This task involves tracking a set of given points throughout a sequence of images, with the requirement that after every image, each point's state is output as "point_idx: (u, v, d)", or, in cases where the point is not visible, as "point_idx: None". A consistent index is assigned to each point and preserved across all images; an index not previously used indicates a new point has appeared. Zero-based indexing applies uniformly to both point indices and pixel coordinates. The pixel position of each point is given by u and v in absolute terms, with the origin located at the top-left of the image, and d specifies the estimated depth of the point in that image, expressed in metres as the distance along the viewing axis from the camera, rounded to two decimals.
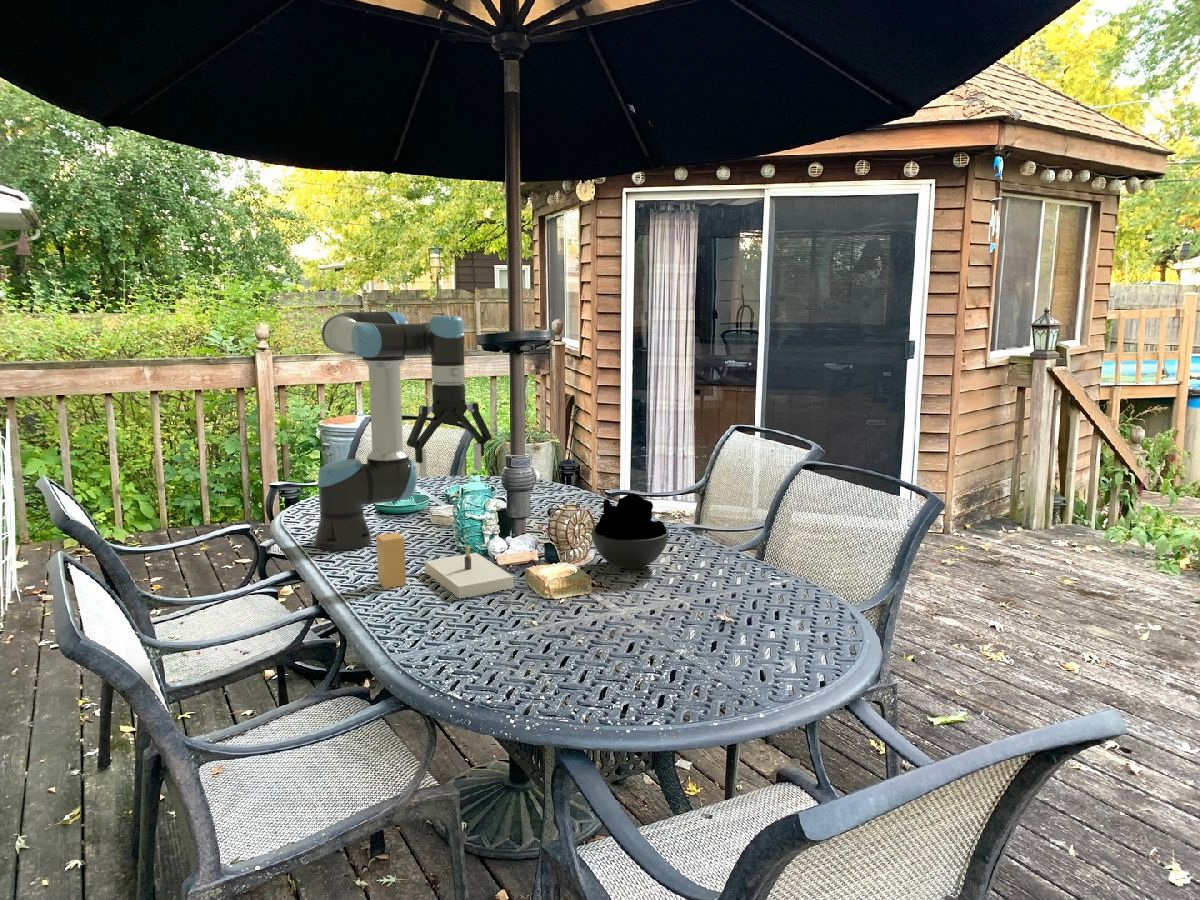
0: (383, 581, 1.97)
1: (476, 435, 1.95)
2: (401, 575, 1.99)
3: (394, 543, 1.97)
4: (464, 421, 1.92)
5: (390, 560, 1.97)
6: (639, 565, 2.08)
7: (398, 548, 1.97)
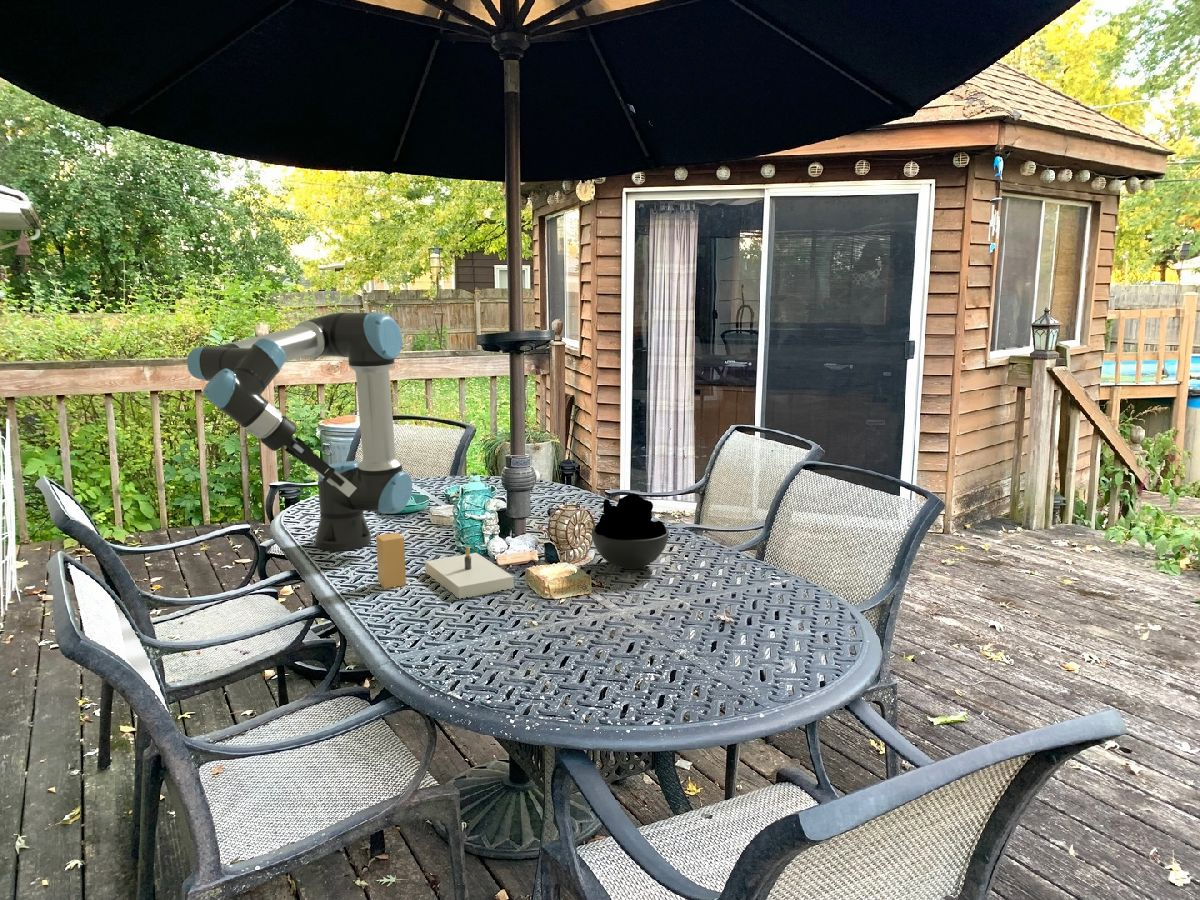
0: (383, 581, 1.97)
1: (318, 472, 1.81)
2: (401, 575, 1.99)
3: (394, 543, 1.97)
4: None
5: (390, 560, 1.97)
6: (639, 565, 2.08)
7: (398, 548, 1.97)
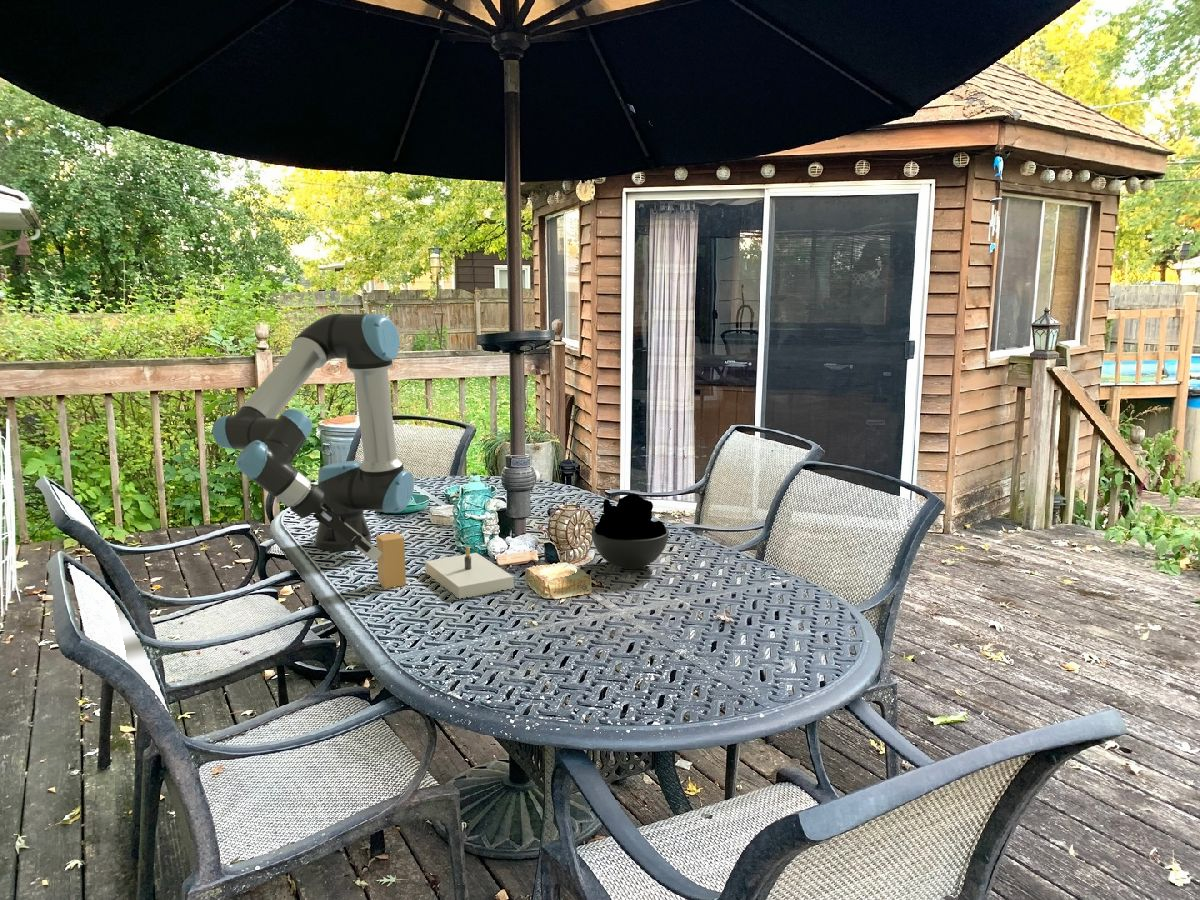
0: (383, 581, 1.97)
1: None
2: (401, 575, 1.99)
3: (394, 543, 1.97)
4: (328, 527, 1.87)
5: (390, 560, 1.97)
6: (639, 565, 2.08)
7: (398, 548, 1.97)
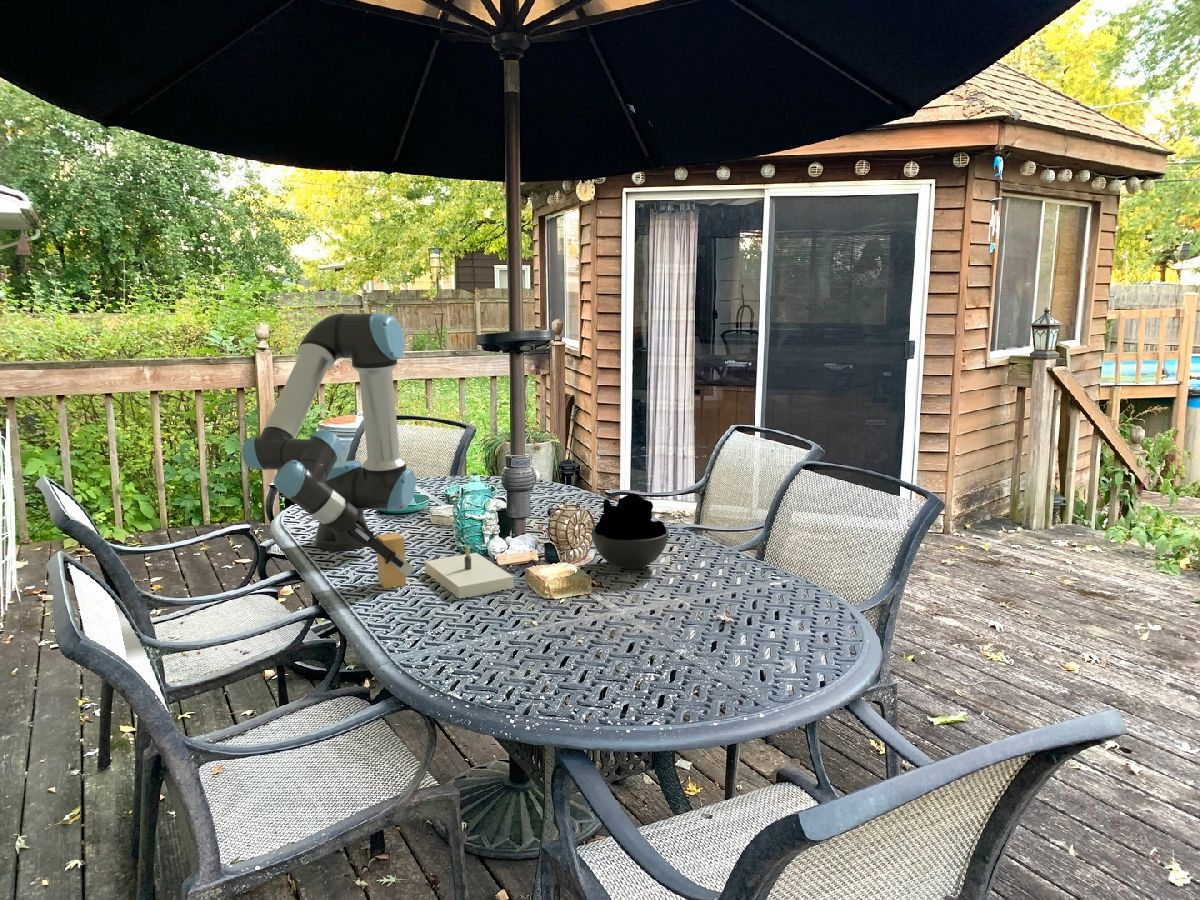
0: (383, 581, 1.97)
1: None
2: (401, 575, 1.99)
3: (394, 543, 1.97)
4: (362, 543, 1.93)
5: None
6: (639, 565, 2.08)
7: (398, 548, 1.97)
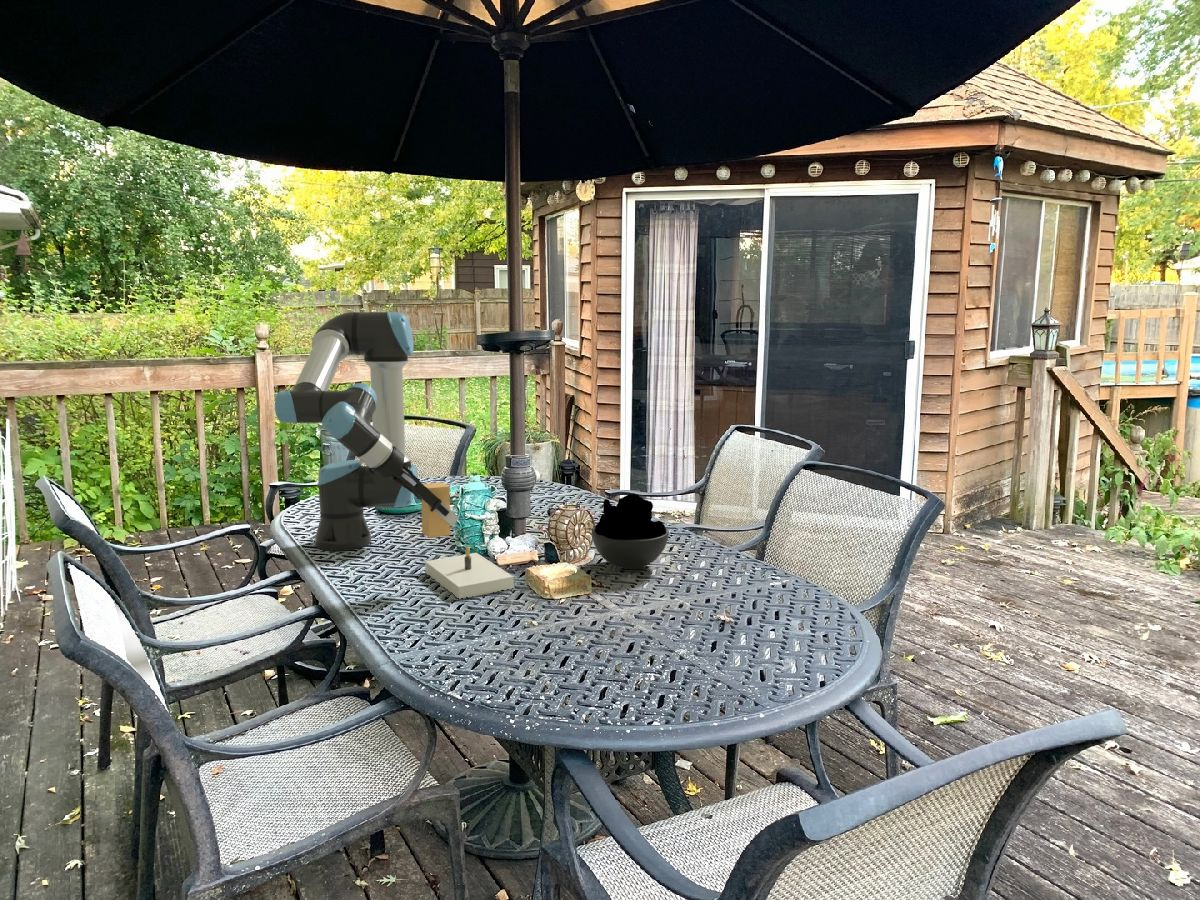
0: (428, 529, 1.95)
1: (425, 501, 1.92)
2: (445, 524, 1.97)
3: (440, 491, 1.94)
4: (408, 489, 1.91)
5: None
6: (639, 565, 2.08)
7: (443, 497, 1.95)
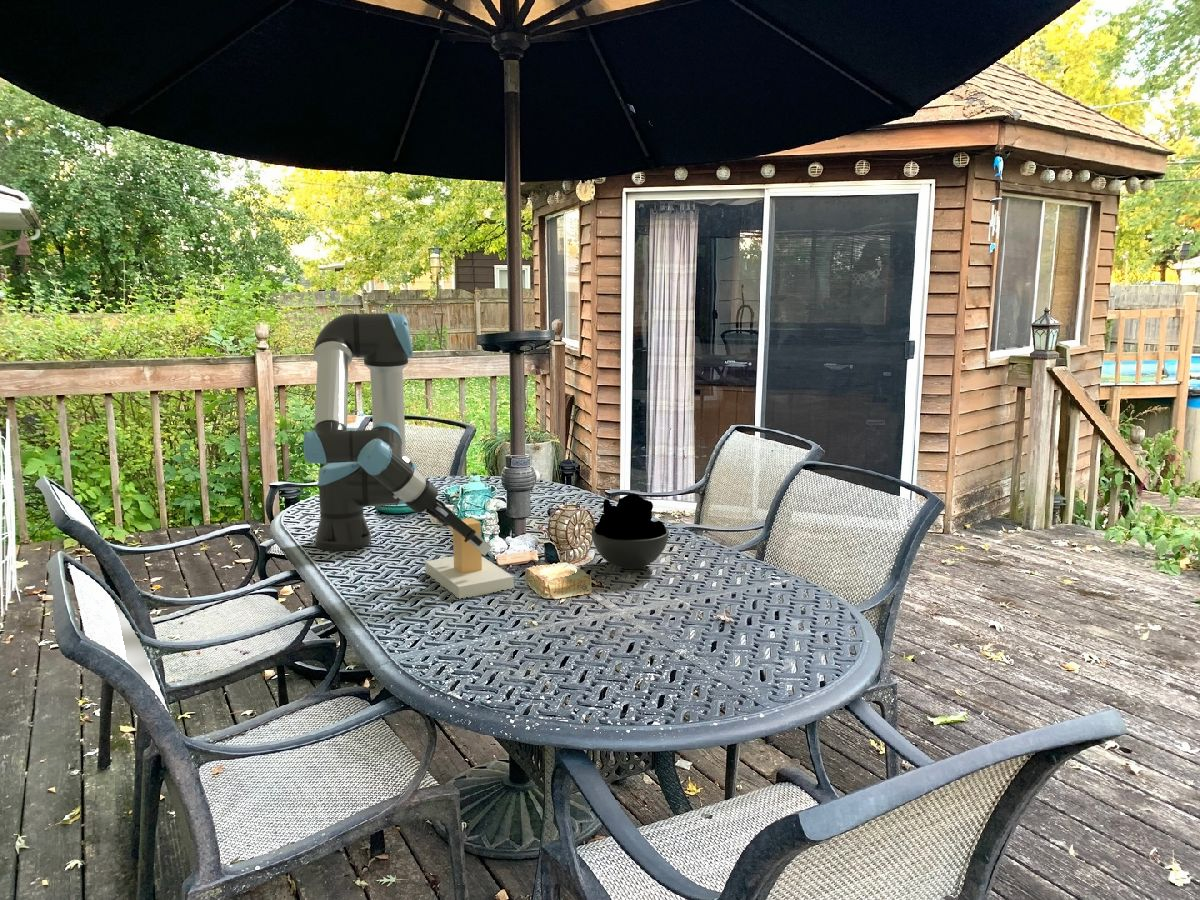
0: (461, 565, 2.00)
1: None
2: (477, 560, 2.01)
3: (472, 528, 1.99)
4: (441, 522, 1.95)
5: (467, 545, 1.99)
6: (639, 565, 2.08)
7: None
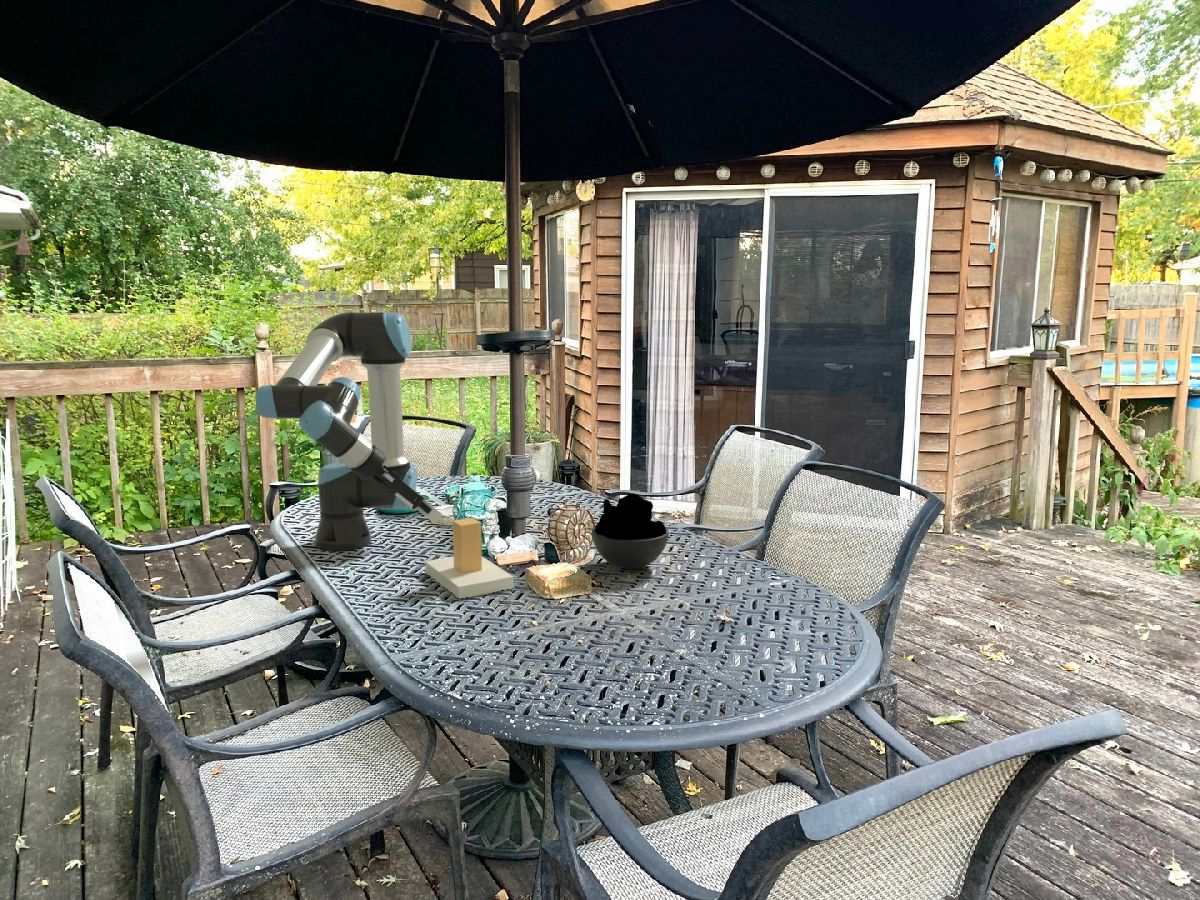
0: (461, 565, 2.00)
1: (407, 500, 1.85)
2: (477, 560, 2.01)
3: (472, 528, 1.99)
4: (389, 489, 1.86)
5: (467, 545, 1.99)
6: (639, 565, 2.08)
7: (475, 533, 2.00)
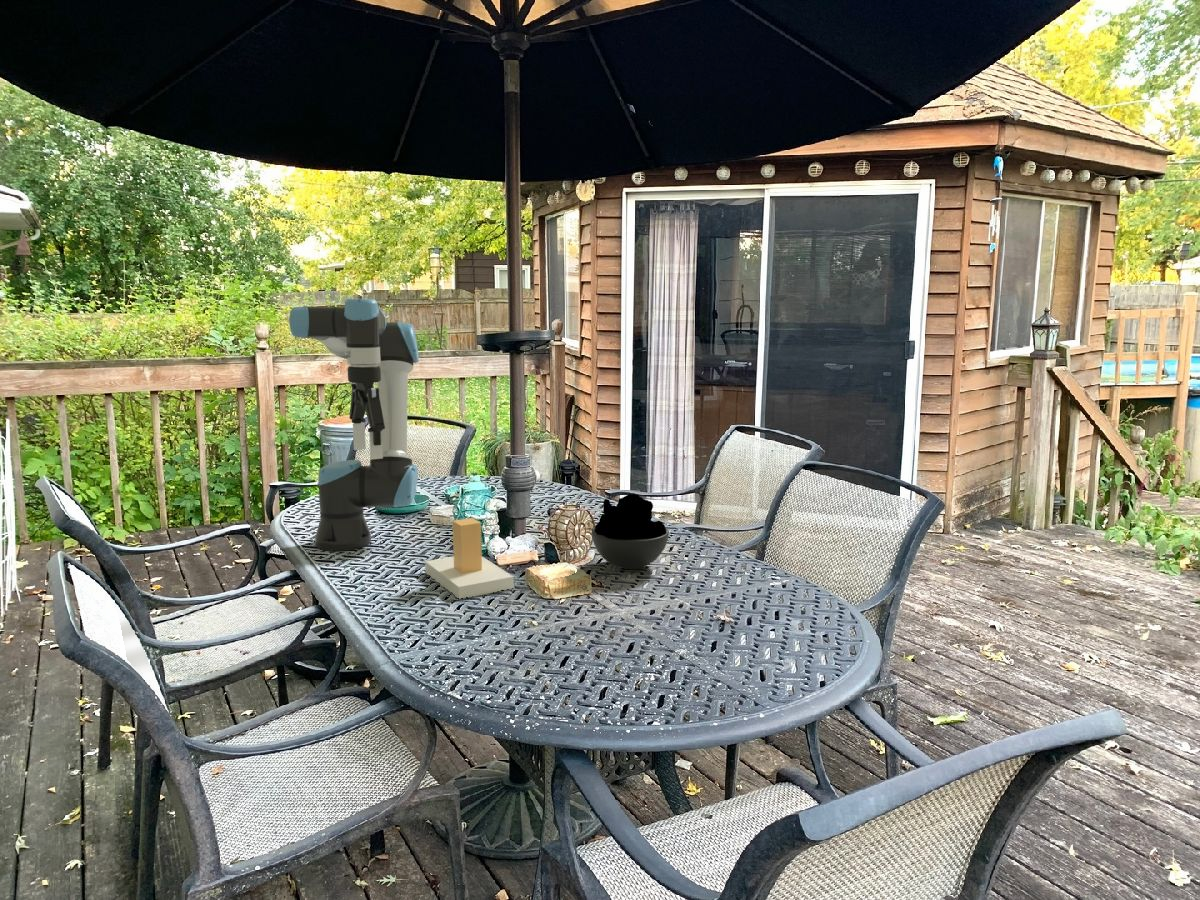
0: (461, 565, 2.00)
1: (369, 421, 1.90)
2: (477, 560, 2.01)
3: (472, 528, 1.99)
4: (362, 404, 1.92)
5: (467, 545, 1.99)
6: (639, 565, 2.08)
7: (475, 533, 2.00)
